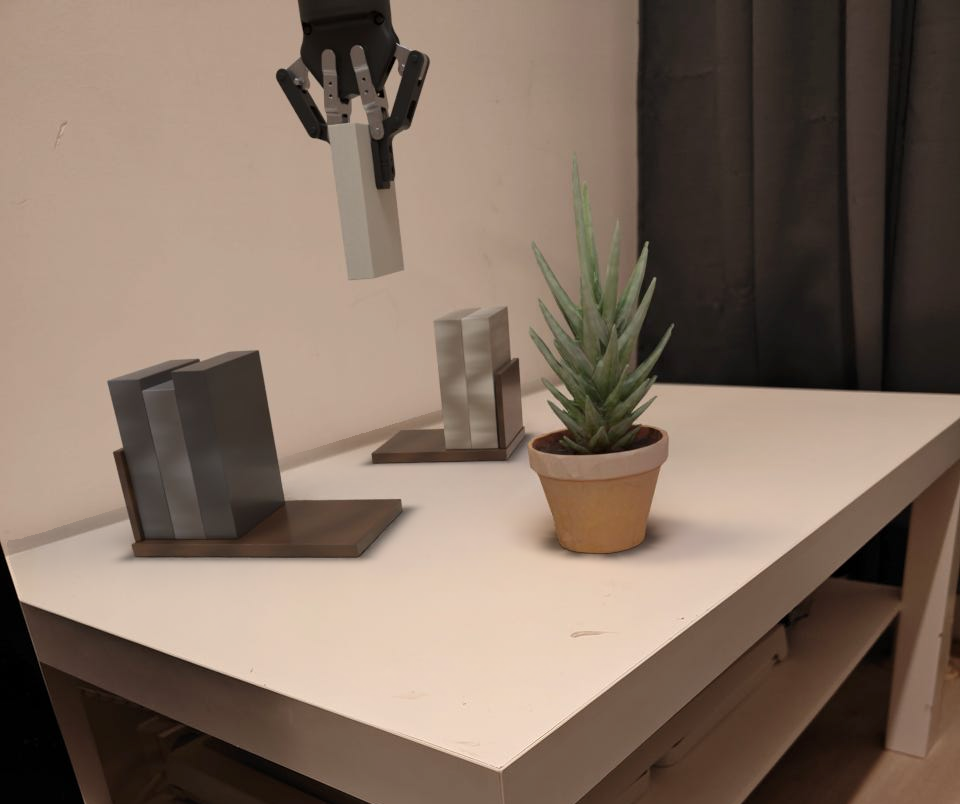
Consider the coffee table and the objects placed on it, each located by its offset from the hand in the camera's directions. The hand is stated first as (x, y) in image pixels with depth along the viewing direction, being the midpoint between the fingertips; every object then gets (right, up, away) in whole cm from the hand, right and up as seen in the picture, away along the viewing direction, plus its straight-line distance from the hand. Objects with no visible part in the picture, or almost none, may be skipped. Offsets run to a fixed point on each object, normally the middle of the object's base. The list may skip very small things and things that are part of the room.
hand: (366, 189), depth 83 cm
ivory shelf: (+7, -20, +12) cm, 25 cm away
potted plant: (+18, -33, -16) cm, 41 cm away
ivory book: (+1, -6, +3) cm, 7 cm away
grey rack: (-6, -31, -9) cm, 33 cm away
